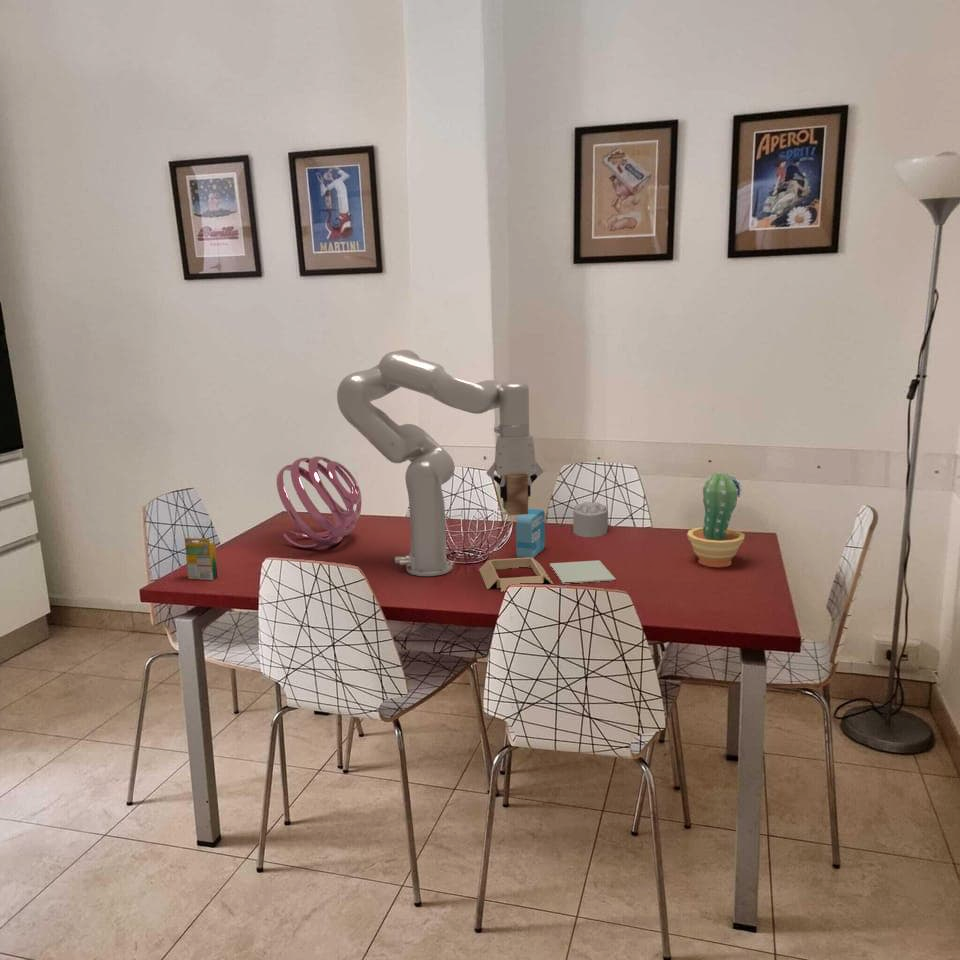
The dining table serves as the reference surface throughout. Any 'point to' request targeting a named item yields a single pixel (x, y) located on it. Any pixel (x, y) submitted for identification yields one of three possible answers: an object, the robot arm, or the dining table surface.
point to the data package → (530, 533)
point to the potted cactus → (717, 522)
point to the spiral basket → (340, 515)
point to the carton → (491, 565)
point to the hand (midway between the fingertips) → (515, 499)
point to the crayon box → (201, 559)
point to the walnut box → (516, 495)
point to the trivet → (582, 572)
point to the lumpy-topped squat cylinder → (590, 519)
